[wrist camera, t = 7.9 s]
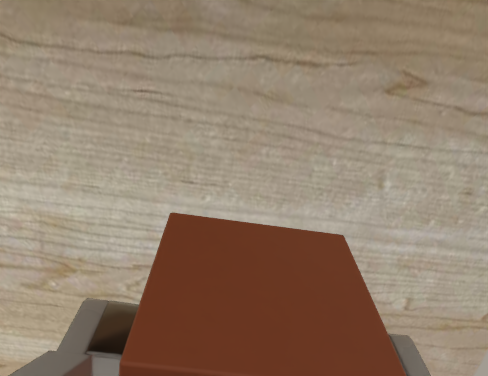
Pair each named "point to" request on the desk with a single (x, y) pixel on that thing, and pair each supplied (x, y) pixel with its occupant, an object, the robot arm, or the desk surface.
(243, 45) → the desk surface
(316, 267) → the block
